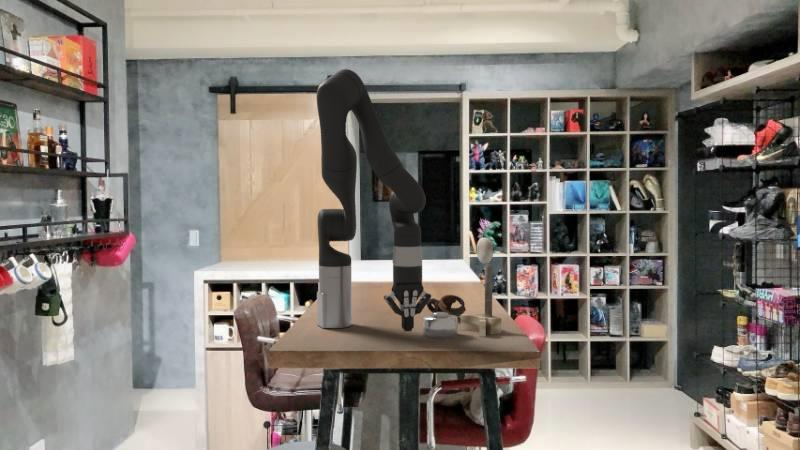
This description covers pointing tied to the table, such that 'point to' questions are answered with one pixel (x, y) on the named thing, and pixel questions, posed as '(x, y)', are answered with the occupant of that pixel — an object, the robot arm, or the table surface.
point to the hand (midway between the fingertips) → (407, 330)
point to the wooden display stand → (485, 321)
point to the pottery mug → (447, 305)
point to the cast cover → (440, 326)
